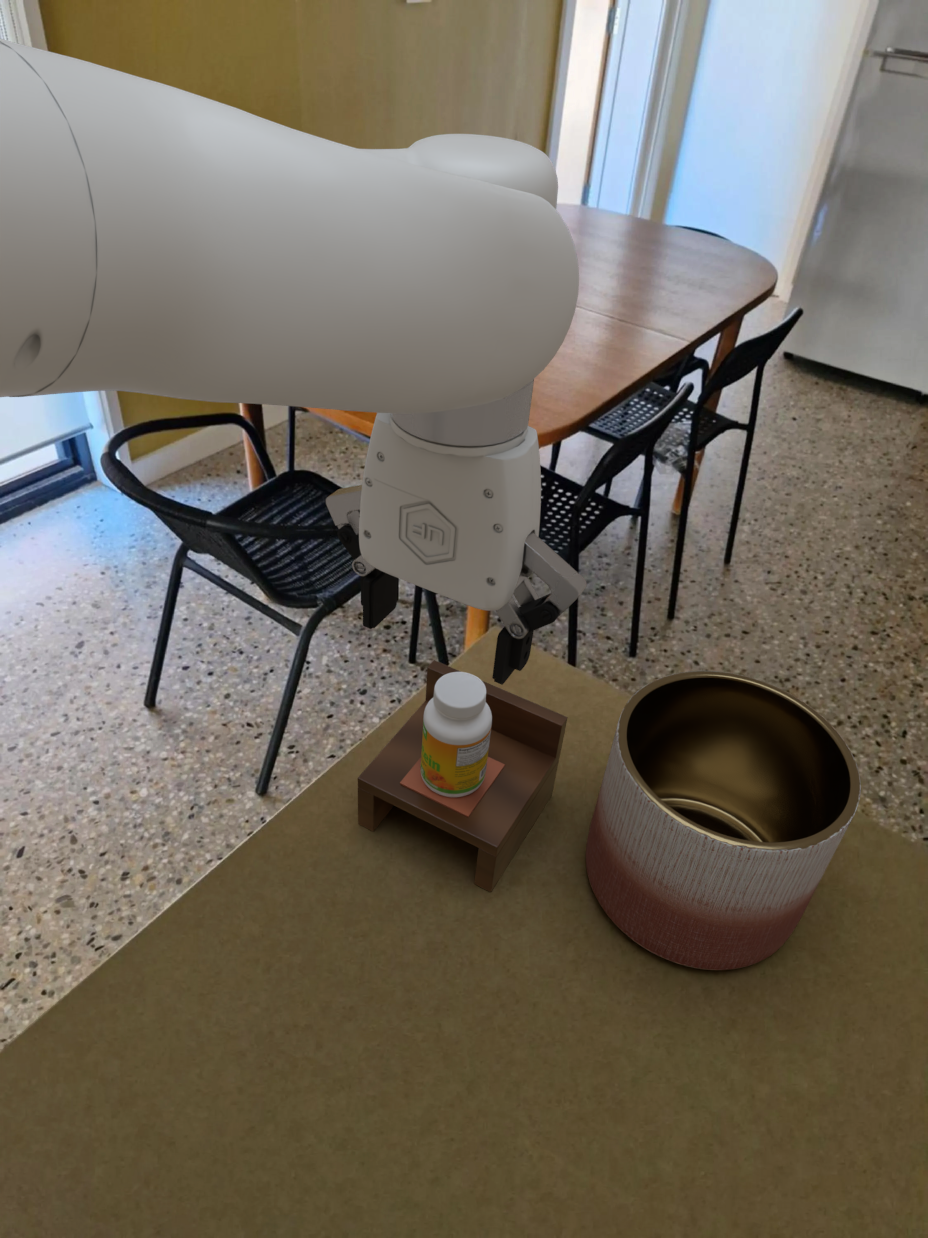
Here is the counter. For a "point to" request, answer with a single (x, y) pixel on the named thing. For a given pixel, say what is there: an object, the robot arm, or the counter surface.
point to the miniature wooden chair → (504, 798)
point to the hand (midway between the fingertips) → (442, 643)
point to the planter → (717, 817)
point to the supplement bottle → (456, 735)
